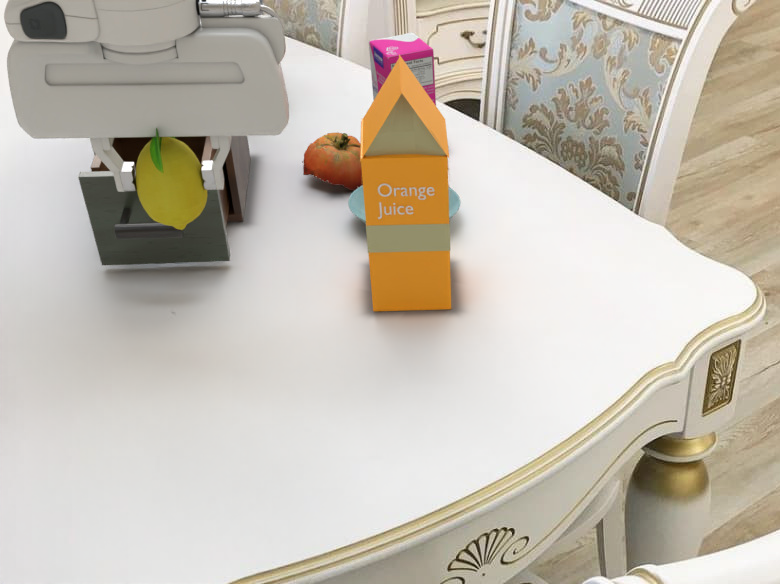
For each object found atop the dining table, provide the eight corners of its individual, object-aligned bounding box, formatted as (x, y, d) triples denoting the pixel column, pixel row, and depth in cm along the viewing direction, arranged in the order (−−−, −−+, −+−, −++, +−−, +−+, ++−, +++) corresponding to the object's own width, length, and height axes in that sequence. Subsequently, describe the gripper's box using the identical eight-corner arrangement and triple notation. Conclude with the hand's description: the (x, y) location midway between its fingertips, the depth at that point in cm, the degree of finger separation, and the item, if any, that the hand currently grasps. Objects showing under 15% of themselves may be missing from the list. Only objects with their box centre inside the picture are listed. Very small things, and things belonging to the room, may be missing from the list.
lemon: (179, 256, 89) (154, 130, 82) (126, 236, 91) (96, 111, 84) (235, 224, 93) (215, 101, 86) (182, 205, 95) (159, 84, 88)
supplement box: (374, 142, 132) (367, 38, 124) (419, 133, 134) (415, 31, 126) (393, 161, 129) (387, 55, 120) (439, 151, 131) (436, 47, 122)
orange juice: (371, 311, 106) (353, 92, 91) (371, 266, 112) (355, 53, 97) (453, 309, 106) (448, 91, 92) (449, 264, 112) (444, 52, 98)
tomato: (329, 189, 120) (307, 122, 119) (304, 214, 125) (282, 150, 125) (391, 182, 124) (370, 116, 123) (363, 206, 130) (343, 144, 129)
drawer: (226, 286, 107) (210, 196, 100) (94, 291, 105) (69, 201, 99) (238, 195, 120) (224, 112, 113) (121, 199, 119) (100, 114, 112)
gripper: (281, -16, 83) (301, 168, 93) (-3, -15, 81) (49, 172, 91) (279, 13, 78) (300, 203, 89) (-21, 14, 76) (35, 208, 86)
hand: (171, 187), depth 90 cm, fingers closed on lemon, 5 cm apart
